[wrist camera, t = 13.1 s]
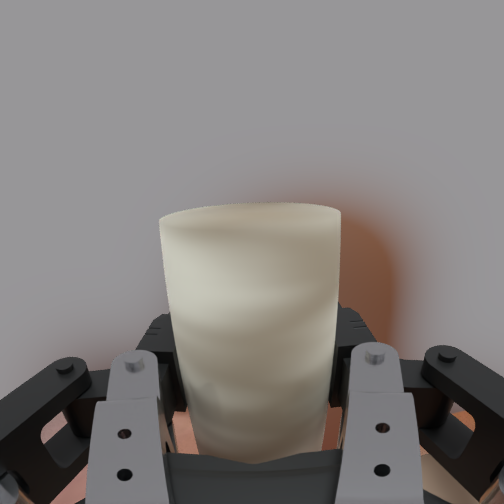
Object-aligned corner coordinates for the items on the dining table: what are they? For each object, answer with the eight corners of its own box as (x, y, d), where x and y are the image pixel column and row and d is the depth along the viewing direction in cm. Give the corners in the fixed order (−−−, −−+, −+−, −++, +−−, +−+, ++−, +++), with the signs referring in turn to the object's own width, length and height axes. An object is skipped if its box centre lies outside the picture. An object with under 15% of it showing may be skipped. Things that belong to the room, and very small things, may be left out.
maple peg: (211, 539, 9) (130, 235, 6) (218, 469, 13) (181, 206, 10) (315, 536, 9) (367, 225, 6) (305, 467, 13) (320, 201, 10)
